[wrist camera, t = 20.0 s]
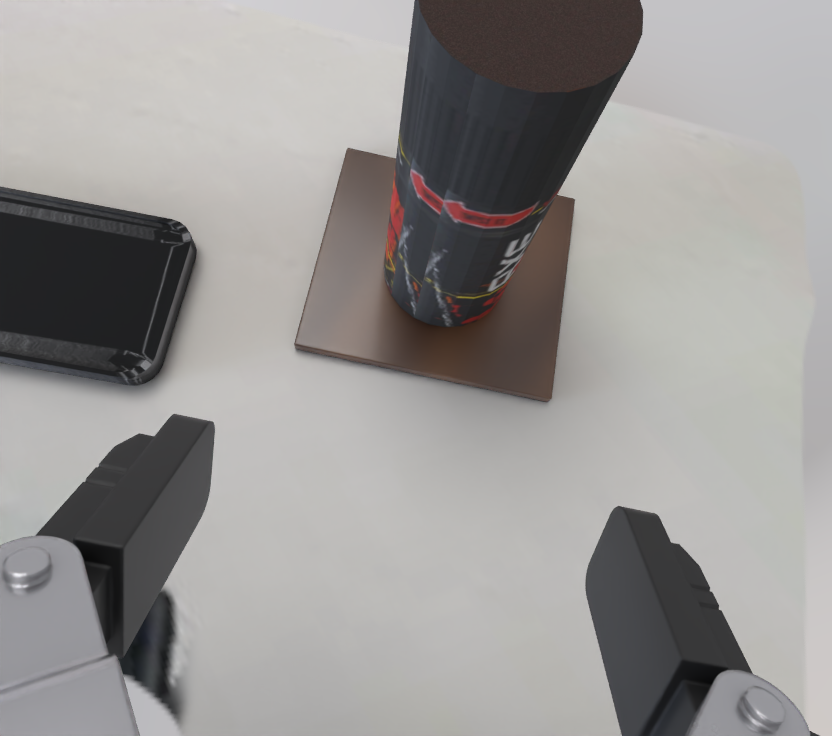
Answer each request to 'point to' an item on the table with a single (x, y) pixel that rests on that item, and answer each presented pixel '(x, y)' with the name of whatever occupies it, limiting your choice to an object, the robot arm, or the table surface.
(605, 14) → the deodorant
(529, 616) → the table surface
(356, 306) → the walnut board
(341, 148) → the table surface
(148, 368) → the phone
